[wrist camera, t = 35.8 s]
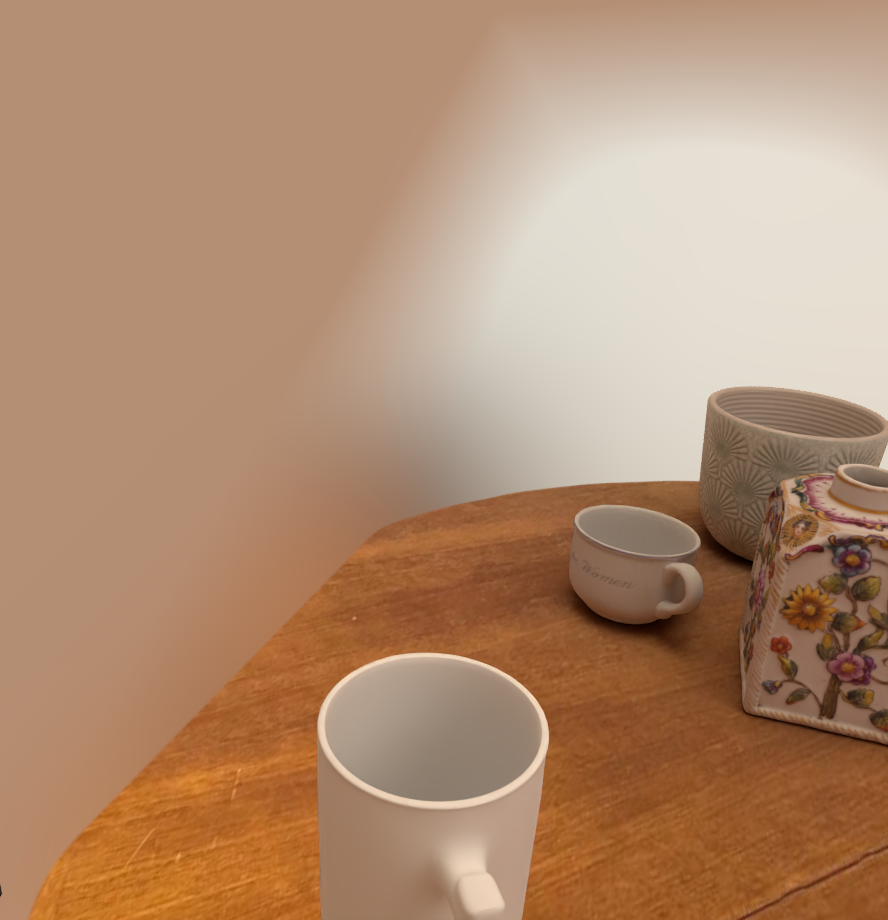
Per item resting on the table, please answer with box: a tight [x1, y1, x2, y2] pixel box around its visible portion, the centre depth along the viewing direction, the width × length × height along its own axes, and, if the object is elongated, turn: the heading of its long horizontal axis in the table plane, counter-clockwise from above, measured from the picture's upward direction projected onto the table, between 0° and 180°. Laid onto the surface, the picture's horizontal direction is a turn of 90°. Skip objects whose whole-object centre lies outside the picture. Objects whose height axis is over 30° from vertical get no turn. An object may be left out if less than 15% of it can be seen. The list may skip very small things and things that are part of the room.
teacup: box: [569, 505, 703, 624], centre depth 71 cm, size 14×11×8 cm
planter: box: [699, 387, 888, 562], centre depth 84 cm, size 17×17×15 cm
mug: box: [317, 653, 549, 920], centre depth 25 cm, size 10×7×12 cm, turn 14°
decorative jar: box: [739, 464, 888, 745], centre depth 61 cm, size 12×12×18 cm
